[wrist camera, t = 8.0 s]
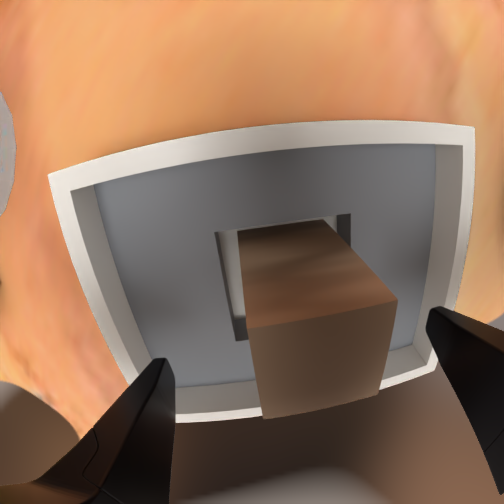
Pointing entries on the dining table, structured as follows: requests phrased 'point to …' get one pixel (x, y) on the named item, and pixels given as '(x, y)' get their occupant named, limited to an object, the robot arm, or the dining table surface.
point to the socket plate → (254, 214)
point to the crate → (253, 141)
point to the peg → (312, 318)
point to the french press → (6, 153)
